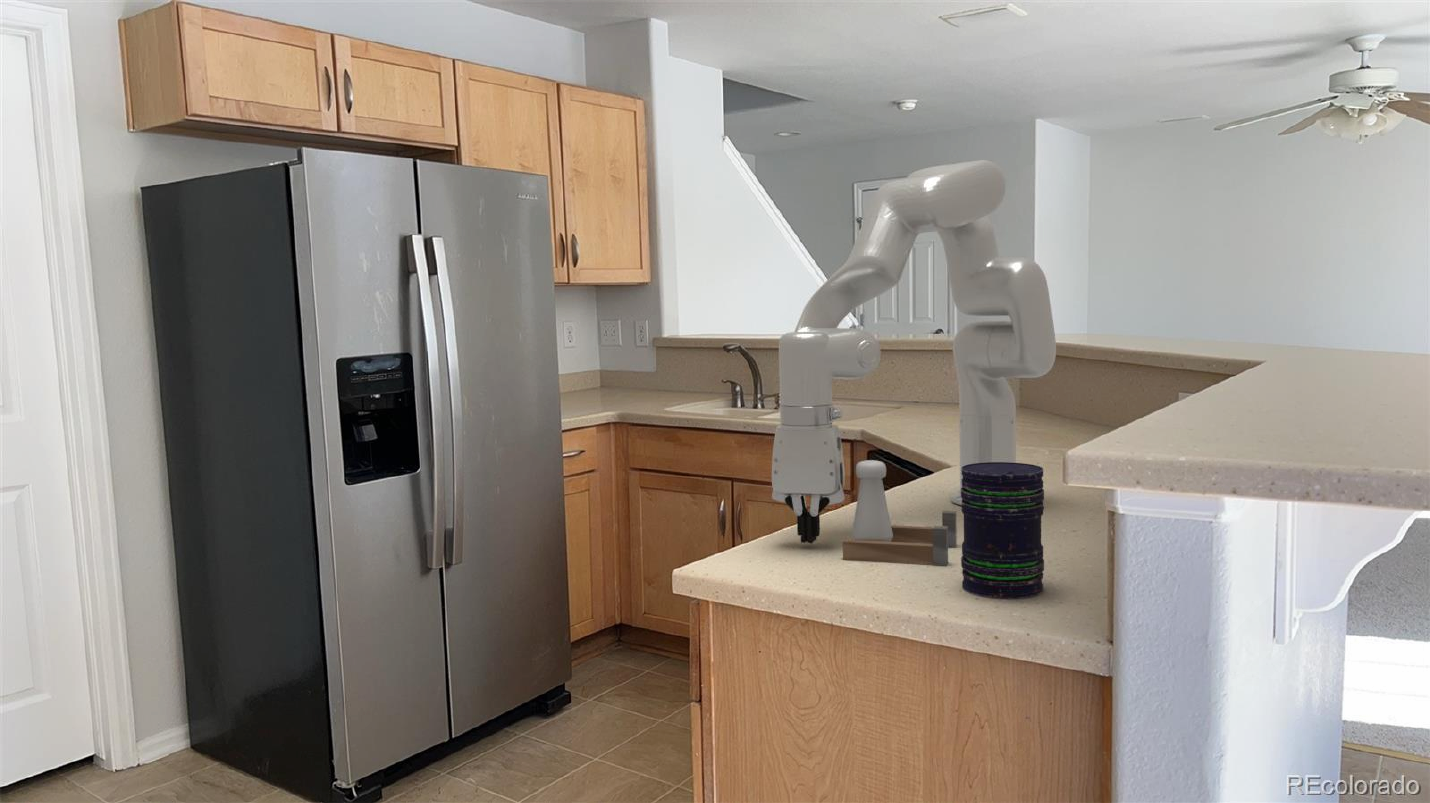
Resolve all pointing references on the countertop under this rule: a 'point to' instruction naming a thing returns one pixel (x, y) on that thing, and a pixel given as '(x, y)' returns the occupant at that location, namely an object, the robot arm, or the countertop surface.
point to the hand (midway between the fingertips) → (808, 540)
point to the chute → (908, 544)
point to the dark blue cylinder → (1002, 530)
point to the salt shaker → (871, 504)
